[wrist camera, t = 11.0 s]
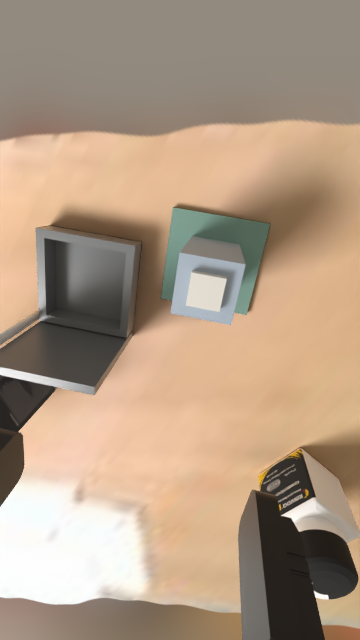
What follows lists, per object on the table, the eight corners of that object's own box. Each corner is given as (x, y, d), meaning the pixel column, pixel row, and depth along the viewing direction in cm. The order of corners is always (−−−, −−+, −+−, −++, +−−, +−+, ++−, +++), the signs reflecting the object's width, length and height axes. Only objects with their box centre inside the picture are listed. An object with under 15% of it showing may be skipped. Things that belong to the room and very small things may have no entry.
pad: (269, 223, 28) (270, 224, 27) (246, 313, 32) (246, 314, 31) (173, 207, 28) (172, 207, 28) (161, 296, 32) (160, 298, 32)
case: (141, 241, 30) (100, 265, 20) (132, 336, 34) (94, 395, 24) (40, 223, 31) (-49, 238, 21) (43, 318, 35) (-30, 368, 25)
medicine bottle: (300, 445, 37) (332, 551, 26) (339, 478, 38) (385, 593, 27) (256, 473, 40) (269, 580, 29) (294, 503, 41) (320, 617, 30)
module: (239, 244, 28) (246, 266, 20) (229, 289, 30) (231, 328, 21) (192, 235, 29) (178, 254, 20) (184, 281, 31) (168, 316, 22)
